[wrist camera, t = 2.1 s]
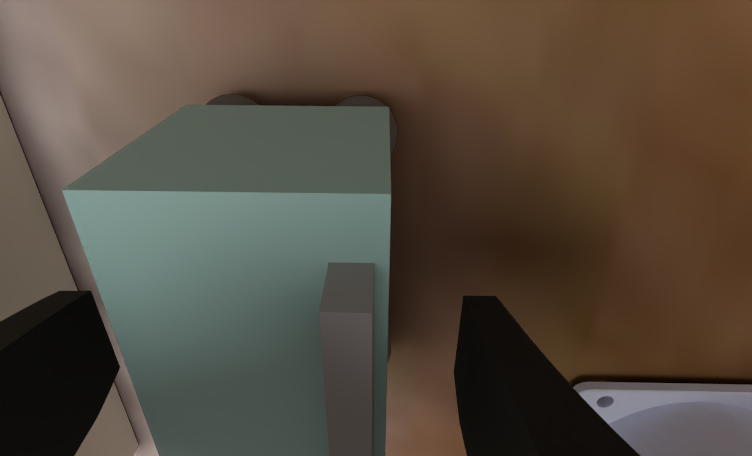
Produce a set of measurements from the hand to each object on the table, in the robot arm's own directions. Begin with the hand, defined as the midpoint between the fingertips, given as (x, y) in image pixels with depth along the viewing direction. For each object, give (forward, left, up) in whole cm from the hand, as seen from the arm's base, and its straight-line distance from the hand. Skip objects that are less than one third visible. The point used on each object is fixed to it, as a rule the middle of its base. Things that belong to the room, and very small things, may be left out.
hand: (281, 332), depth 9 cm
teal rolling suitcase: (0, 0, -4) cm, 4 cm away
